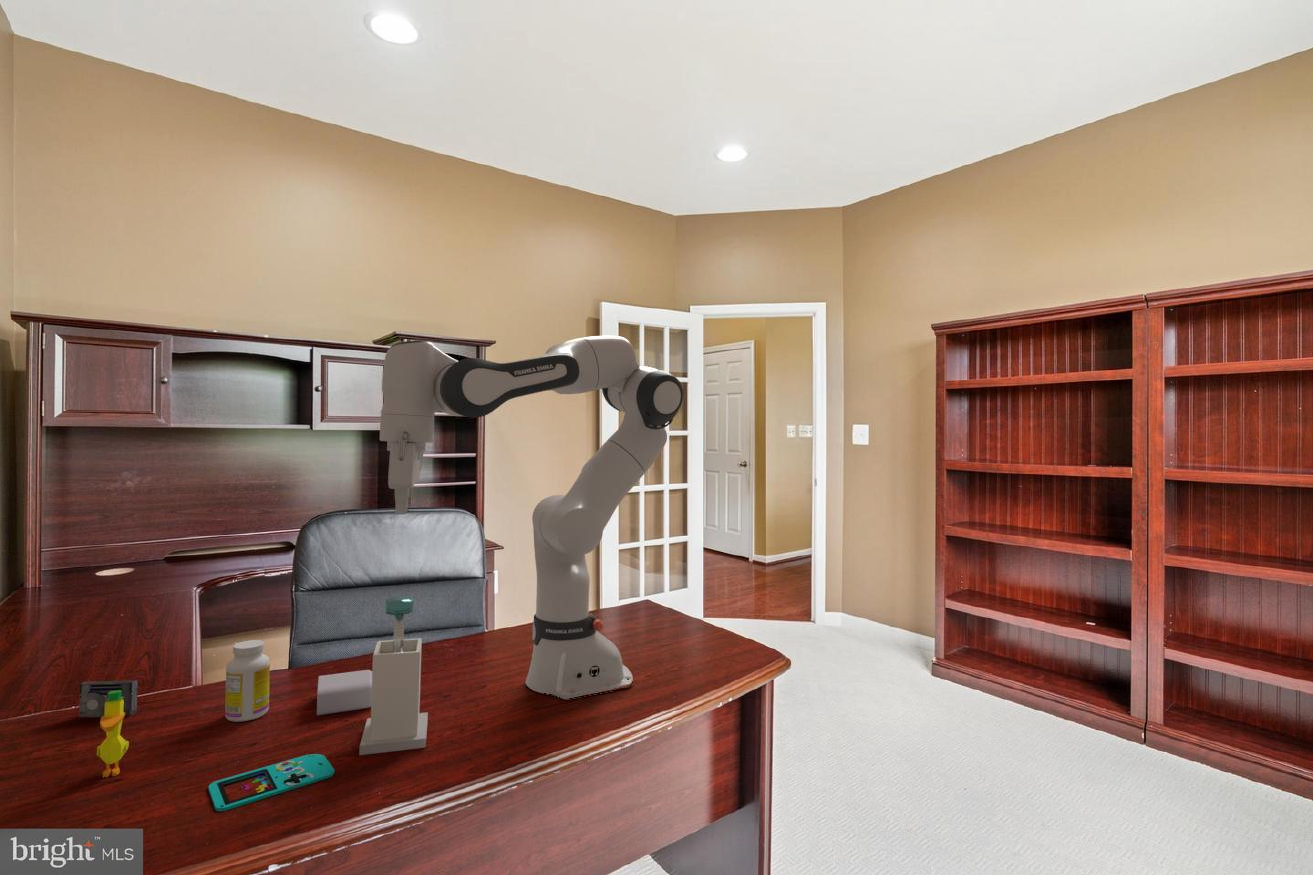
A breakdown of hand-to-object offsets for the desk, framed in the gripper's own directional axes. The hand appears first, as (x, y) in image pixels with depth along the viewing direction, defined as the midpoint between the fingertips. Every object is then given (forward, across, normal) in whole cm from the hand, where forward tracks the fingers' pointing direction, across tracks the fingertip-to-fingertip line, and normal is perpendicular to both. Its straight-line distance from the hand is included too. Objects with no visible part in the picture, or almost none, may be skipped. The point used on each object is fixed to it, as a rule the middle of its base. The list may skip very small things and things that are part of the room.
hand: (403, 510), depth 111 cm
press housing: (+38, -4, 0) cm, 38 cm away
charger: (+39, +13, +7) cm, 41 cm away
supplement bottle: (+39, +11, +26) cm, 48 cm away
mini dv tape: (+39, +16, +49) cm, 64 cm away
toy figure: (+39, -6, +38) cm, 55 cm away
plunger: (+27, -4, 0) cm, 27 cm away
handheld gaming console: (+39, -14, +15) cm, 44 cm away
